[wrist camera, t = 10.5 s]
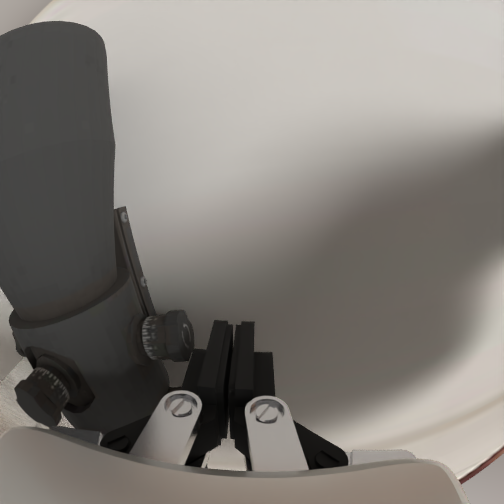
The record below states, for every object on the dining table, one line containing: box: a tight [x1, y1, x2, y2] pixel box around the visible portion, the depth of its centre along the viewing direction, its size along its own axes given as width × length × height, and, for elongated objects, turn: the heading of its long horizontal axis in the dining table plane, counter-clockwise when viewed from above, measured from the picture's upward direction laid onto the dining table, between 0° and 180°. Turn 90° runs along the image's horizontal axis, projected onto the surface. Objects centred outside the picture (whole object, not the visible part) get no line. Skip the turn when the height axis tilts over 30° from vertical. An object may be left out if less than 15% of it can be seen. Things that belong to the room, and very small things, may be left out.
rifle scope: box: [0, 21, 207, 468], centre depth 11 cm, size 10×26×10 cm, turn 9°
